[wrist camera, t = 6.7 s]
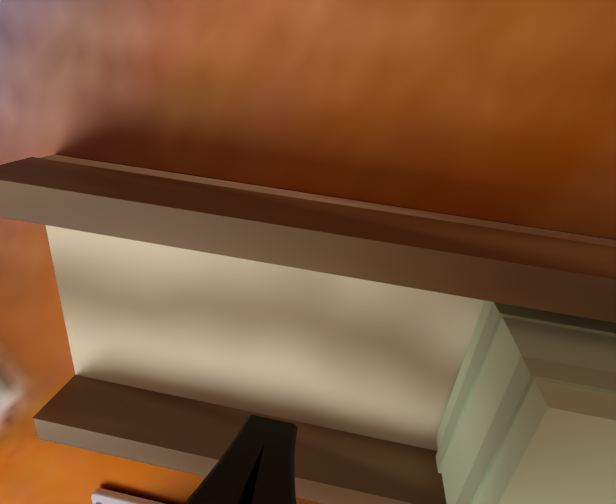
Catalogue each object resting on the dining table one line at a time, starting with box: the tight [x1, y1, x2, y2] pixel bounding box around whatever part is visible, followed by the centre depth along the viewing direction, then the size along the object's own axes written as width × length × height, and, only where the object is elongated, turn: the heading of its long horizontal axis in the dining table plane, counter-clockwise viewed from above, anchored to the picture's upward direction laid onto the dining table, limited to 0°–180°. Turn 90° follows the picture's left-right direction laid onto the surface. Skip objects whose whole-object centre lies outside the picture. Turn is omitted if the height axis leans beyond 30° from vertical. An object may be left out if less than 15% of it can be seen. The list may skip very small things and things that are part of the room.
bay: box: [0, 155, 616, 504], centre depth 13 cm, size 11×25×6 cm, turn 84°
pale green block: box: [435, 301, 616, 504], centre depth 12 cm, size 7×6×5 cm
